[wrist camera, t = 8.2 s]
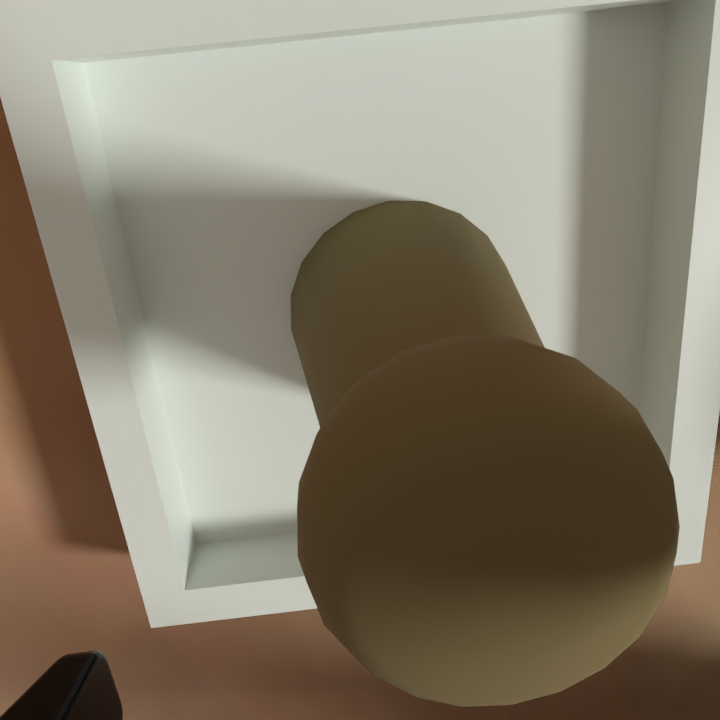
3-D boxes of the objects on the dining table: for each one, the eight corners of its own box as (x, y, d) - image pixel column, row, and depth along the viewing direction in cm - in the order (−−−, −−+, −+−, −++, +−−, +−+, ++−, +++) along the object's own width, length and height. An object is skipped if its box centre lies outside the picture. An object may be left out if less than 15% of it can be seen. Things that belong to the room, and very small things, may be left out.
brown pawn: (248, 264, 17) (151, 518, 7) (462, 157, 17) (695, 270, 6) (350, 445, 19) (387, 837, 9) (543, 358, 19) (811, 678, 9)
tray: (702, -54, 16) (782, -83, 13) (652, 502, 22) (700, 562, 19) (33, 13, 16) (-28, -2, 13) (171, 559, 22) (150, 628, 19)
